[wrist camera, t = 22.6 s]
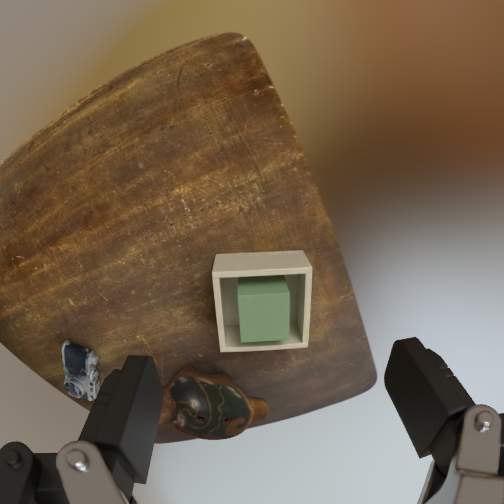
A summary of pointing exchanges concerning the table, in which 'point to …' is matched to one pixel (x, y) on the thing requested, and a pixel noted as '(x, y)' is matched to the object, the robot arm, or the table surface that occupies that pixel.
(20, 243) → the table surface
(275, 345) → the open square box
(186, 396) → the decorative turtle
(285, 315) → the green box
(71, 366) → the camera
